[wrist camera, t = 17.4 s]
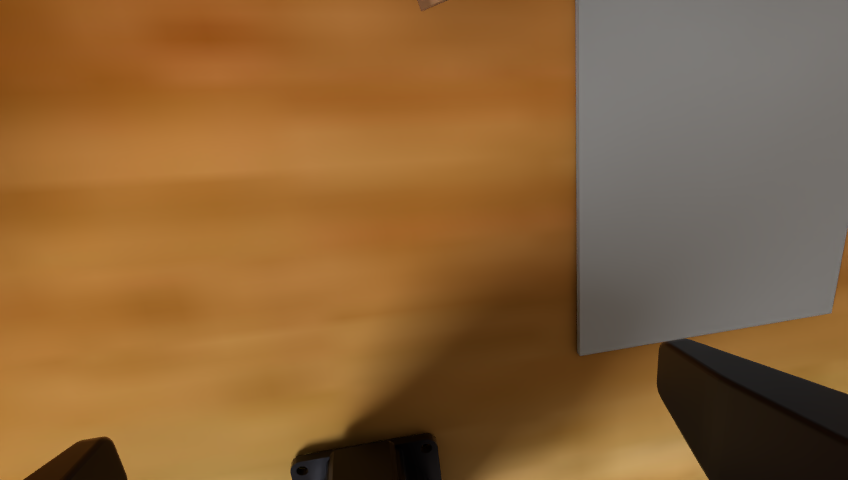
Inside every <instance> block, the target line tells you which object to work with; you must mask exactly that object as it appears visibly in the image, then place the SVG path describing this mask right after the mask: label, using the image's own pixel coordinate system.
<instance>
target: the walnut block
mask: <svg viewBox="0 0 848 480" xmlns="http://www.w3.org/2000/svg"><path fill="white" fill-rule="evenodd" d="M417 1H418V3H419V6H420V9H421V11H423V10H426V9H428V8H430V7H433V6H435V5H438V4H440V3H442V2H445V1H447V0H417Z"/></svg>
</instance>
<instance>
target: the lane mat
mask: <svg viewBox="0 0 848 480" xmlns="http://www.w3.org/2000/svg"><path fill="white" fill-rule="evenodd" d="M575 2H576V205H577V353H578V354H579V355H580V356H583V355H588V354H594V353H600V352H606V351H612V350H618V349H624V348H630V347H635V346H641V345H647V344H653V343H659V342H665V341H671V340H676V339H682V338H688V337H694V336H700V335H706V334H712V333H718V332H723V331H729V330H735V329H741V328H747V327H753V326H759V325H765V324H770V323H776V322H782V321H788V320H794V319H800V318H806V317H811V316H817V315H823V314H829V313H831V312H832V307H833V302H834V297H835V291H836V286H837V281H838V276H839V270H840V265H841V260H842V255H843V249H844V244H845V239H846V234H847V228H848V0H575Z"/></svg>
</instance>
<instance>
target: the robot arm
mask: <svg viewBox="0 0 848 480" xmlns="http://www.w3.org/2000/svg"><path fill="white" fill-rule="evenodd" d="M657 388H658V392H659V394H660V397H661V399H662V401H663V402H664V404H665V406H666V407H667V409H668V411H669V413H670V414H671V416H672V418H673V420H674V421H675V423H676V425H677V426H678V428H679V430H680V432H681V433H682V435H683V437H684V439H685V440H686V442H687V444H688V445H689V447H690V449H691V451H692V452H693V454H694V456H695V458H696V459H697V461H698V463H699V464H700V466H701V468H702V469H703V471H704V473H705V474H706V476H707V477H708V479H709V480H848V394H846V393H843V392H840V391H837V390H834V389H831V388H828V387H825V386H822V385H820V384H817V383H814V382H811V381H808V380H805V379H802V378H799V377H796V376H794V375H791V374H788V373H785V372H782V371H779V370H776V369H773V368H770V367H767V366H765V365H762V364H759V363H756V362H753V361H750V360H747V359H744V358H741V357H739V356H736V355H733V354H730V353H727V352H724V351H721V350H718V349H715V348H713V347H710V346H707V345H704V344H701V343H698V342H695V341H692V340H689V339H677V340H671V341H666V342H663V343H662V344H661V345H660V348H659V355H658V371H657ZM424 444H430V445H429V446H426V447H423V446H422V445H424ZM301 466H304V467H306V468H305V469H301V468H299V467H301ZM291 477H292V480H442V479H441V471H440V463H439V455H438V447H437V442H436V439H435V437H434V436H433V435H432V434H429V433H423V434H417V435H412V436H406V437H401V438H395V439H389V440H384V441H378V442H373V443H367V444H361V445H356V446H350V447H345V448H339V449H333V450H328V451H322V452H317V453H311V454H305V455H300V456H297V457H296V458H294V459H293V461H292V464H291ZM24 480H127V475H126V473H125V470H124V468H123V465H122V463H121V460H120V458H119V455H118V453H117V450H116V448H115V445H114V443H113V441H112V440H111V439H110V438H108V437H98V438H92V439H86V440H81V441H79V442H77V443H75V444H74V445H72V446H71V447H69V448H68V449H66V450H65V451H64V452H62V453H61V454H59V455H58V456H56V457H55V458H54V459H52V460H51V461H49V462H48V463H46V464H45V465H44V466H42V467H41V468H39V469H38V470H36V471H35V472H34V473H32V474H31V475H29V476H28V477H26V478H25V479H24Z"/></svg>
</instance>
